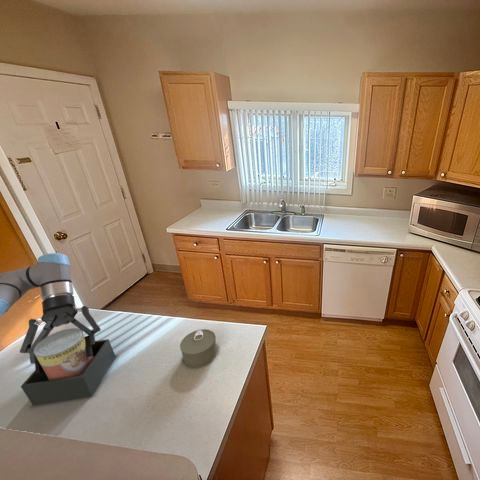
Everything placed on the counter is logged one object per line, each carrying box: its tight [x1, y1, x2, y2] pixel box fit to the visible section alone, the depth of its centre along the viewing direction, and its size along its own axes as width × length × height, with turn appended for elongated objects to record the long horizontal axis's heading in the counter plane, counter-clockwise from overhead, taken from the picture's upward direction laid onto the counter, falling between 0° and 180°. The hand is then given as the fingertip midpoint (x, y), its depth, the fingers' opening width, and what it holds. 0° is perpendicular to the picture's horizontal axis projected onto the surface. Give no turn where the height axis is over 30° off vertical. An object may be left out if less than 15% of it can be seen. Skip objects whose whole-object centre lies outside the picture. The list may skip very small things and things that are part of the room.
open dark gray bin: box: [20, 338, 117, 406], centre depth 84 cm, size 15×15×9 cm
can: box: [179, 328, 218, 368], centre depth 95 cm, size 12×12×7 cm
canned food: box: [33, 327, 94, 380], centre depth 81 cm, size 11×11×12 cm
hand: (66, 364), depth 80 cm, fingers closed on canned food, 11 cm apart
